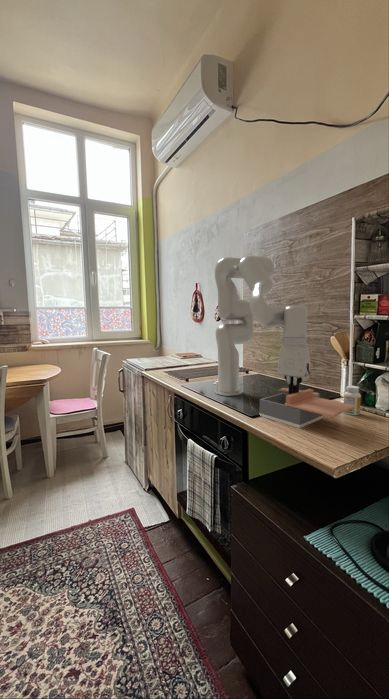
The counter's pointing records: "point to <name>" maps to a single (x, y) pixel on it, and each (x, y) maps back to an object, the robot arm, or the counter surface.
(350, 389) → the supplement bottle
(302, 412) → the tray
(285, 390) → the packaged product
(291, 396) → the mailer lid
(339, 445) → the counter surface
